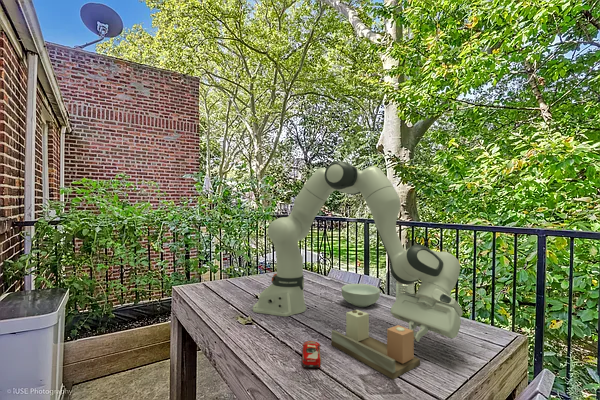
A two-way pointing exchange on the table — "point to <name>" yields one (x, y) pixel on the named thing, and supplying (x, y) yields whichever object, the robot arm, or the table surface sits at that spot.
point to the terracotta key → (400, 343)
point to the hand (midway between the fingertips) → (412, 338)
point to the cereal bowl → (360, 294)
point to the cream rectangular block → (357, 325)
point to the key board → (372, 354)
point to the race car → (311, 354)
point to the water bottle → (403, 288)
